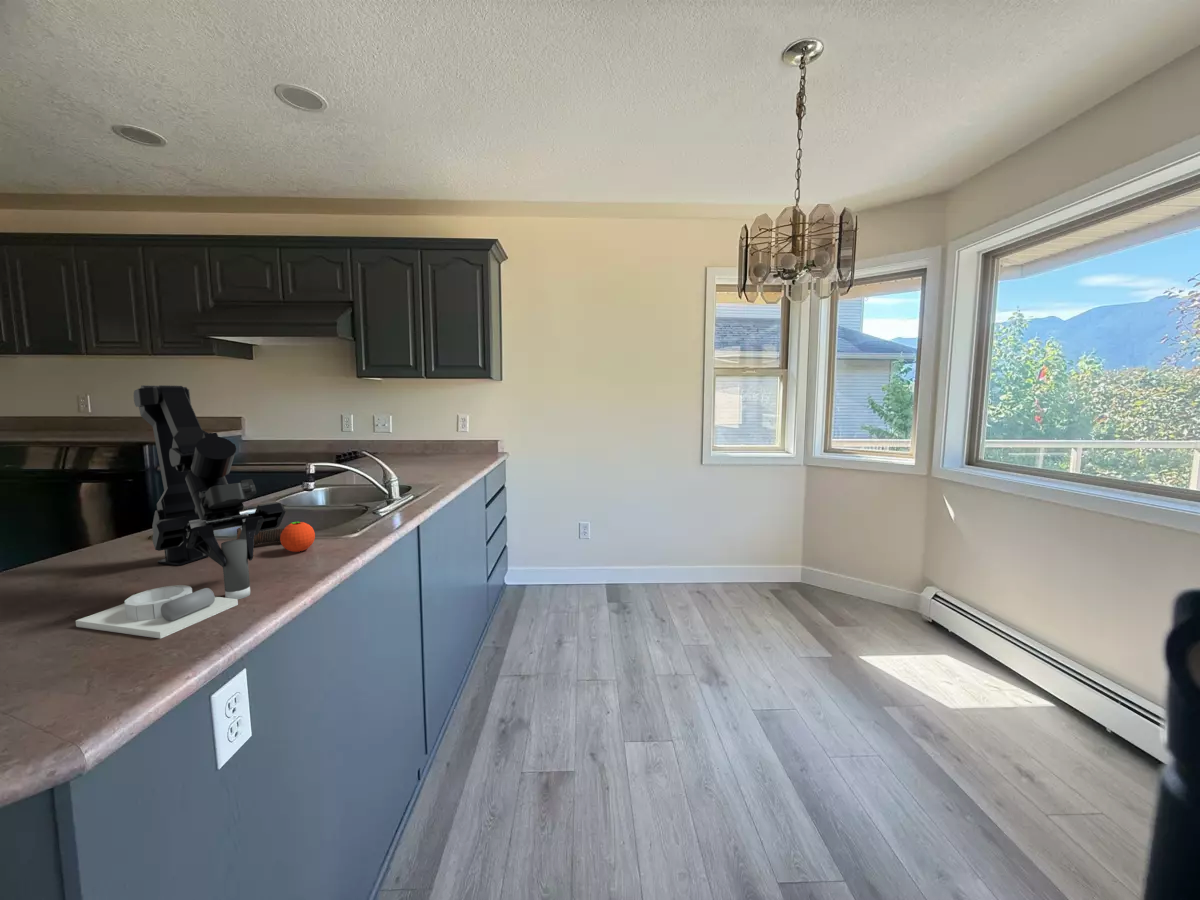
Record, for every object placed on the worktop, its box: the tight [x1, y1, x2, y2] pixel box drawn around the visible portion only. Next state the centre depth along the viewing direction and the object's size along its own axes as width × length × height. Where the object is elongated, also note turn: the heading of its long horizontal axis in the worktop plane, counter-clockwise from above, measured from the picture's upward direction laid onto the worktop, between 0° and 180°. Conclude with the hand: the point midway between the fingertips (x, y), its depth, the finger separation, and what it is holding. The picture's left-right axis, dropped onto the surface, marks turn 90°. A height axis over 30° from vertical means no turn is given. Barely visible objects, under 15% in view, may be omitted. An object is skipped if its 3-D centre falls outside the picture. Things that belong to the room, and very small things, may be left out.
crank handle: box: [220, 539, 251, 600], centre depth 85 cm, size 4×4×10 cm
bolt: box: [236, 524, 289, 546], centre depth 117 cm, size 6×5×15 cm
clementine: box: [279, 521, 316, 553], centre depth 111 cm, size 8×7×7 cm
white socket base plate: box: [75, 584, 239, 640], centre depth 78 cm, size 17×12×4 cm
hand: (238, 562), depth 84 cm, fingers closed on crank handle, 4 cm apart
